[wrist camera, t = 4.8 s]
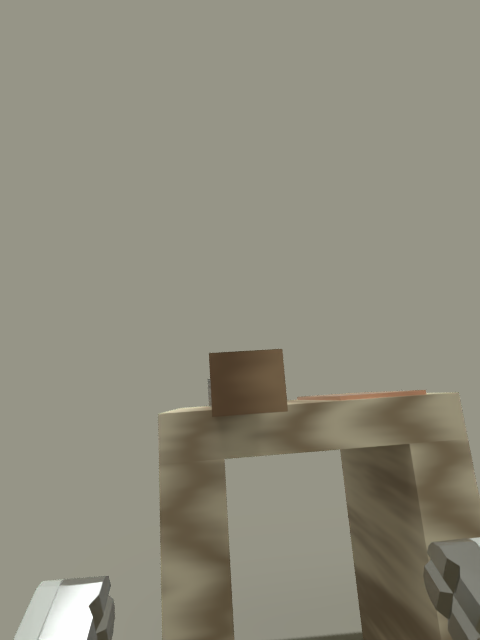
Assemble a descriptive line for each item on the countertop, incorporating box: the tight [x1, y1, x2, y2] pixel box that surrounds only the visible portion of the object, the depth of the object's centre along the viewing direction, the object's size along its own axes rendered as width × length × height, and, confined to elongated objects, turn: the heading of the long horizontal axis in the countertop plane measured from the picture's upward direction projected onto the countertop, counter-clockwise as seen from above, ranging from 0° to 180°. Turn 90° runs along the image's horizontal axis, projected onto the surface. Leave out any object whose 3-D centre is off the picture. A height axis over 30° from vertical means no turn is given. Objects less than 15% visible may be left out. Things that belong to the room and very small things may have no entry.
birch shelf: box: [158, 390, 480, 640], centre depth 27 cm, size 20×14×26 cm
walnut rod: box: [208, 349, 288, 417], centre depth 25 cm, size 4×22×2 cm, turn 4°
